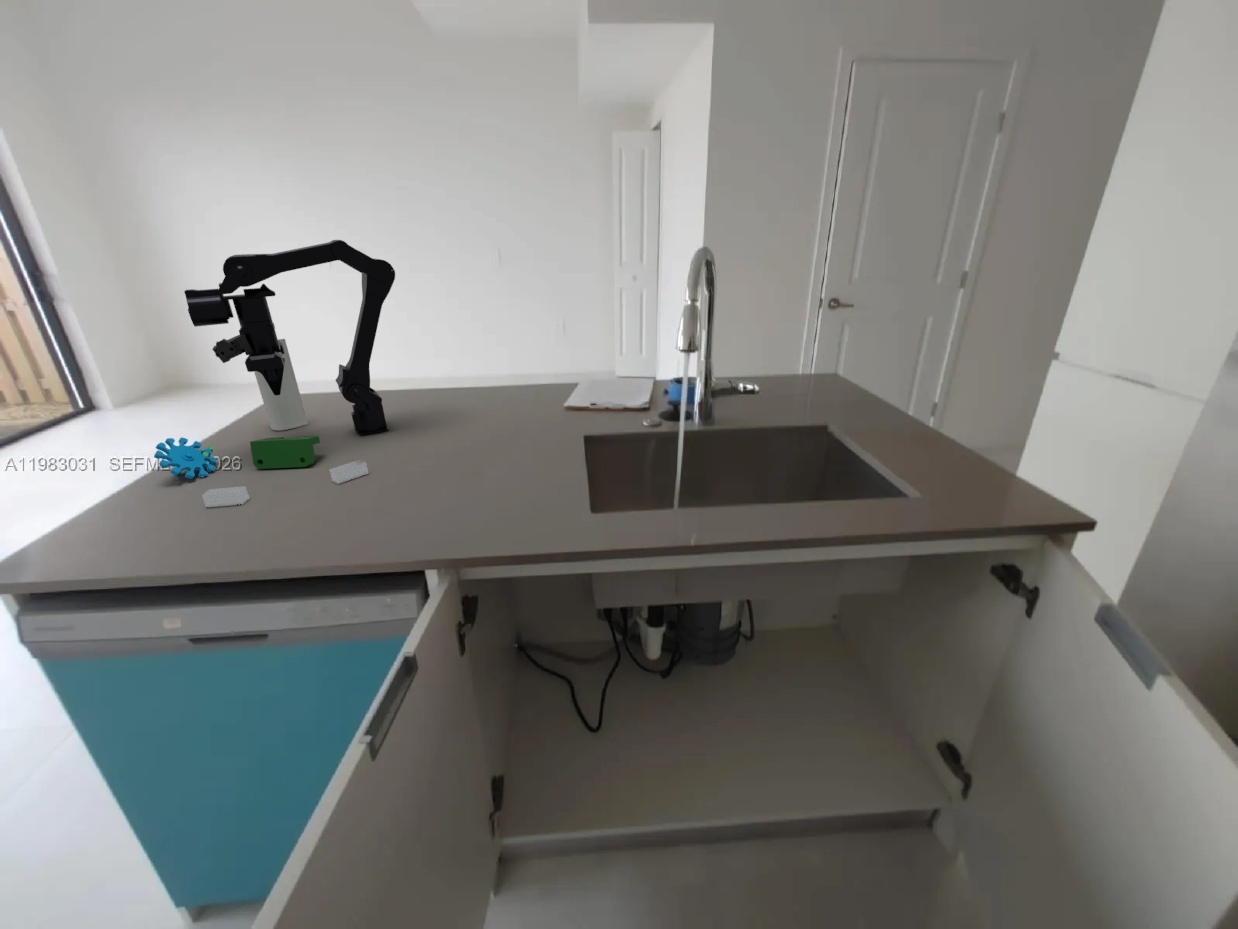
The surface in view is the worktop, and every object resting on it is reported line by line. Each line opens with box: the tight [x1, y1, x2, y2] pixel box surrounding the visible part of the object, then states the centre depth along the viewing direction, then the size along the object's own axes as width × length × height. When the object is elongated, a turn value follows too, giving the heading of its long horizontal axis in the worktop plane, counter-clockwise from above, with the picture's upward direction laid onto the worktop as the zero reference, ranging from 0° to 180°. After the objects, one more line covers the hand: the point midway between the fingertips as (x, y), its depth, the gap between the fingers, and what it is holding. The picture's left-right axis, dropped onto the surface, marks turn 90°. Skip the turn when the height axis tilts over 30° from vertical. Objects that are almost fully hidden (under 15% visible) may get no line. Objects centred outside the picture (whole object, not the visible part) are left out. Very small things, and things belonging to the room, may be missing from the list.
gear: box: [153, 437, 217, 480], centre depth 109 cm, size 11×6×10 cm
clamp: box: [249, 435, 321, 470], centre depth 113 cm, size 12×6×9 cm, turn 88°
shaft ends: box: [201, 459, 369, 508], centre depth 101 cm, size 26×4×2 cm, turn 119°
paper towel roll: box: [253, 338, 309, 431], centre depth 130 cm, size 7×6×21 cm
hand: (277, 394), depth 118 cm, fingers closed
